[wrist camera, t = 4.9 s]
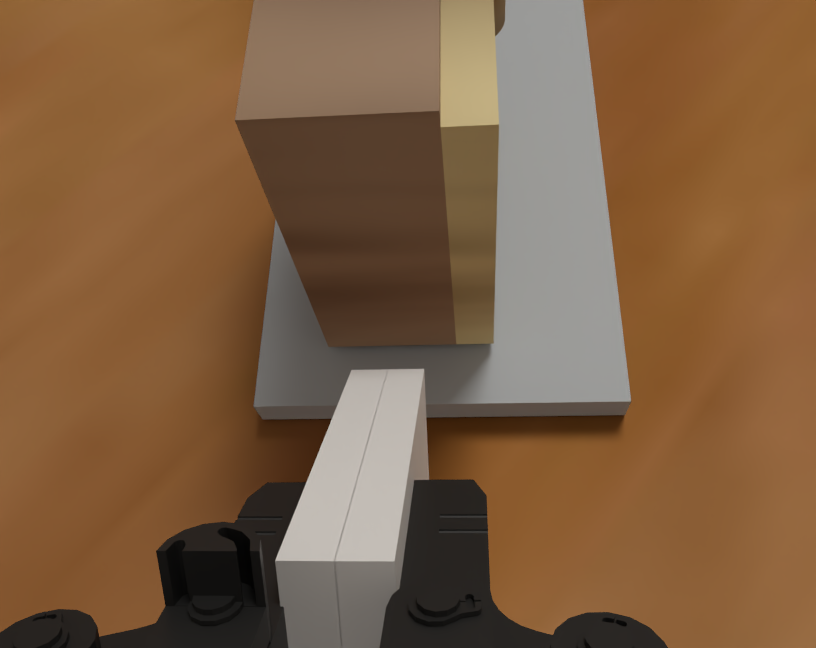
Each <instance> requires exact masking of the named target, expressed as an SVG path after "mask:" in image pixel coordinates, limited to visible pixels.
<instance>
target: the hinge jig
mask: <svg viewBox="0 0 816 648" xmlns="http://www.w3.org/2000/svg"><path fill="white" fill-rule="evenodd" d="M495 44H496V66H497V89H498V111H499V148H498V188H497V227H496V267H495V306H494V344H449V345H400V346H350V347H328V344H327V342H326V340H325V337H324V335H323V332H322V330H321V328H320V325H319V323H318V320H317V318H316V315H315V313H314V311H313V308H312V306H311V303H310V301H309V298H308V296H307V294H306V291H305V289H304V286H303V284H302V282H301V279H300V277H299V274H298V272H297V269H296V267H295V265H294V262H293V260H292V257H291V255H290V252H289V250H288V248H287V245H286V243H285V240H284V238H283V235H282V233H281V231H280V228H279V226H278V223H277V221H275V229H274V238H273V246H272V255H271V263H270V272H269V280H268V289H267V297H266V305H265V314H264V322H263V331H262V339H261V348H260V356H259V365H258V373H257V382H256V390H255V399H254V408H255V409H256V411H257V412H258V413H259V415H260V416H261V418H262V419H332V417H333V415H334V412H335V410H336V407H337V405H338V402H339V400H340V397H341V395H342V392H343V390H344V387H345V385H346V382H347V380H348V377H349V375H350V372H351V370H381V369H424V374H425V397H426V417H508V416H590V415H625V414H626V412H627V409H628V407H629V405H630V403H631V396H630V388H629V380H628V371H627V363H626V355H625V347H624V338H623V330H622V322H621V313H620V305H619V297H618V288H617V280H616V272H615V264H614V255H613V247H612V239H611V230H610V222H609V214H608V205H607V197H606V189H605V181H604V172H603V164H602V156H601V147H600V139H599V131H598V122H597V114H596V106H595V98H594V89H593V81H592V73H591V64H590V56H589V48H588V40H587V31H586V23H585V15H584V6H583V0H506V2H505V22H504V26H503V28H502V29H501V31H500V32H499V33H498V34H497V35H496V36H495Z"/></svg>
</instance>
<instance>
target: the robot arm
mask: <svg viewBox="0 0 816 648" xmlns="http://www.w3.org/2000/svg"><path fill="white" fill-rule="evenodd" d="M156 552H157V558H158V564H159V570H160V576H161V582H162V587H163V593H164V599H165V605H166V606H165V608H164V610H163V612H162V613H161V615H160V617H159V619H158V621H157V622H156V623H155V624H152V625H149V626H145V627H142V628H138V629H134V630H129V631H124V632H120V633H115V634H110V635H105V636H101V637H99V633H98V628H97V625H96V624H95V622H94V620H93V619H92V617H91V616H90V615H88V614H85V613H83V612H81V611H78V610H64V609H57V610H53V611H48V612H42V613H38V614H35V615H33V616H30V617H28V618H25V619H23V620H20V621H18V622H16V623H14V624H13V625H11V626H10V627H8V628H7V629H5V630H4V631H2V632H1V633H0V648H668V647H667V646H666V644H665V643H664V641H663V640H662V639H661V638H660V637H659V636H658V635H657V634H656V633H655V632H654V631H653V630H652V629H651V628H650V627H648V626H646V625H644V624H642V623H640V622H638V621H636V620H634V619H632V618H630V617H626V616H622V615H618V614H614V613H609V612H596V613H584V614H581V615H578V616H575V617H571V618H568V619H567V620H566V621H565V622H564V623H562V624H561V625H560V626H559V627H557V628H556V629H555V632H554V634H553V635H550V634H546V633H542V632H538V631H535V630H532V629H529V628H526V627H523V626H521V625H519V624H517V623H515V622H514V621H512V620H510V619H508V618H507V617H506V616H505V615H504V614H503V613H502V612H501V611H499V610H498V608H497V606H496V605H495V603H494V602H493V600H492V596H491V592H490V575H489V550H488V525H487V499H486V495H485V493H484V492H483V491H482V490H481V488H480V487H479V486H478V485H477V484H476V482H475V481H474V480H429V467H428V444H427V421H426V397H425V374H424V369H381V370H351V372H350V375H349V377H348V380H347V382H346V385H345V387H344V390H343V392H342V395H341V397H340V400H339V402H338V405H337V407H336V410H335V412H334V415H333V417H332V420H331V422H330V425H329V427H328V430H327V432H326V435H325V437H324V440H323V442H322V445H321V447H320V450H319V452H318V455H317V457H316V460H315V462H314V465H313V467H312V470H311V472H310V475H309V477H308V480H307V482H293V483H266V484H265V485H264V486H263V487H261V488H260V489H259V490H257V491H256V492H255V493H254V494H252V495H251V496H250V497H248V498H247V500H246V502H245V504H244V506H243V508H242V510H241V512H240V513H239V515H238V520H236V521H235V523H228V522H218V523H209V524H202V525H199V526H196V527H193V528H189V529H186V530H184V531H182V532H180V533H178V534H176V535H175V536H173V537H171V538H169V539H168V540H167V541H166V542H165V543H164V544H163V545H162V546H161V547H160V548H159V549H158V550H157V551H156Z"/></svg>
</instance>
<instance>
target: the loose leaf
mask: <svg viewBox="0 0 816 648" xmlns="http://www.w3.org/2000/svg"><path fill="white" fill-rule="evenodd" d="M505 2H506V0H254V3H253V9H252V16H251V22H250V28H249V35H248V41H247V47H246V53H245V60H244V66H243V72H242V79H241V85H240V91H239V98H238V104H237V110H236V117H235V122H236V124H237V126H238V129H239V131H240V134H241V136H242V139H243V141H244V143H245V146H246V148H247V151H248V153H249V156H250V158H251V160H252V163H253V165H254V168H255V170H256V173H257V175H258V177H259V180H260V182H261V185H262V187H263V189H264V192H265V194H266V197H267V199H268V202H269V204H270V206H271V209H272V211H273V214H274V216H275V219H276V221H277V223H278V226H279V228H280V231H281V233H282V235H283V238H284V240H285V243H286V245H287V248H288V250H289V252H290V255H291V257H292V260H293V262H294V265H295V267H296V269H297V272H298V274H299V277H300V279H301V282H302V284H303V286H304V289H305V291H306V294H307V296H308V298H309V301H310V303H311V306H312V308H313V311H314V313H315V315H316V318H317V320H318V323H319V325H320V328H321V330H322V332H323V335H324V337H325V340H326V342H327V344H328V347H350V346H400V345H449V344H494V306H495V267H496V227H497V188H498V148H499V111H498V89H497V66H496V44H495V36H496V35H497V34H498V33H499V32H500V31H501V29H502V28H503V26H504V22H505Z"/></svg>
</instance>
